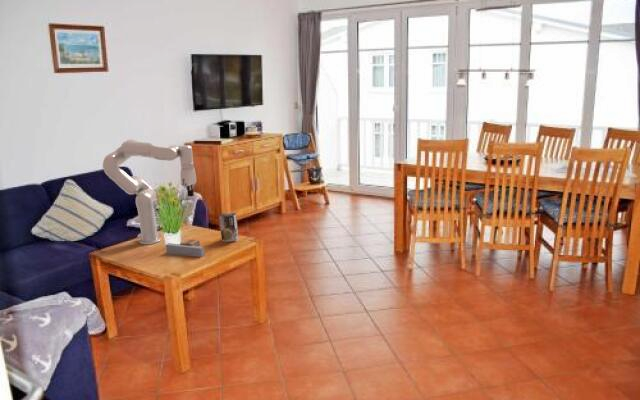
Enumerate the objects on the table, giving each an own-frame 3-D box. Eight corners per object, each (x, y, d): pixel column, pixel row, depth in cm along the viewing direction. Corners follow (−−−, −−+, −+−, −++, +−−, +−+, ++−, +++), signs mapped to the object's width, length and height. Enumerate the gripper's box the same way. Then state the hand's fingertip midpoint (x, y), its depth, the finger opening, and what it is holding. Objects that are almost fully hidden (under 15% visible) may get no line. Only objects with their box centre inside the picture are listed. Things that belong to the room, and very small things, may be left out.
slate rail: (166, 253, 310) (165, 244, 308) (169, 251, 312) (168, 243, 311) (201, 257, 300) (200, 248, 299) (204, 255, 303) (203, 246, 302)
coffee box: (238, 238, 330) (236, 212, 326) (236, 241, 323) (233, 215, 319) (224, 238, 331) (221, 213, 327) (221, 241, 324) (218, 216, 320)
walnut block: (181, 252, 309) (180, 243, 308) (188, 248, 315) (187, 239, 314) (193, 254, 306) (191, 244, 305) (200, 250, 312) (199, 240, 311)
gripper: (189, 163, 330) (193, 192, 335) (174, 168, 317) (178, 198, 321) (200, 164, 327) (203, 193, 332) (185, 168, 314) (188, 199, 318)
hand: (190, 195), depth 326 cm, fingers closed
